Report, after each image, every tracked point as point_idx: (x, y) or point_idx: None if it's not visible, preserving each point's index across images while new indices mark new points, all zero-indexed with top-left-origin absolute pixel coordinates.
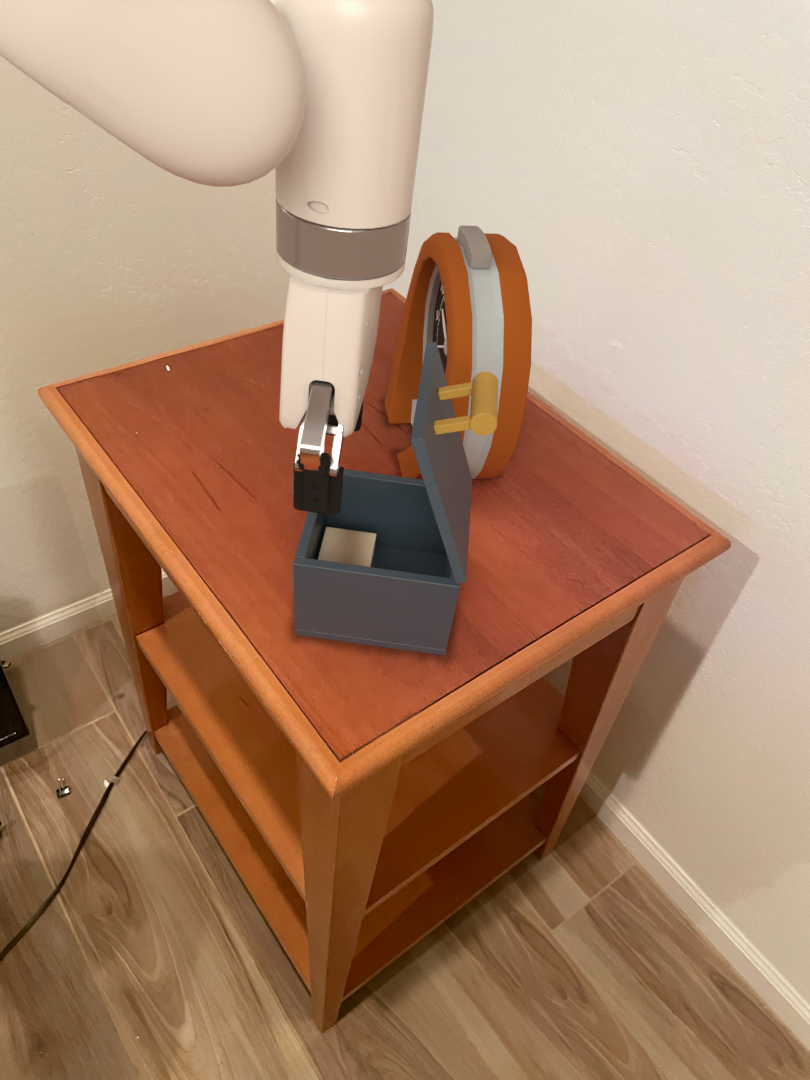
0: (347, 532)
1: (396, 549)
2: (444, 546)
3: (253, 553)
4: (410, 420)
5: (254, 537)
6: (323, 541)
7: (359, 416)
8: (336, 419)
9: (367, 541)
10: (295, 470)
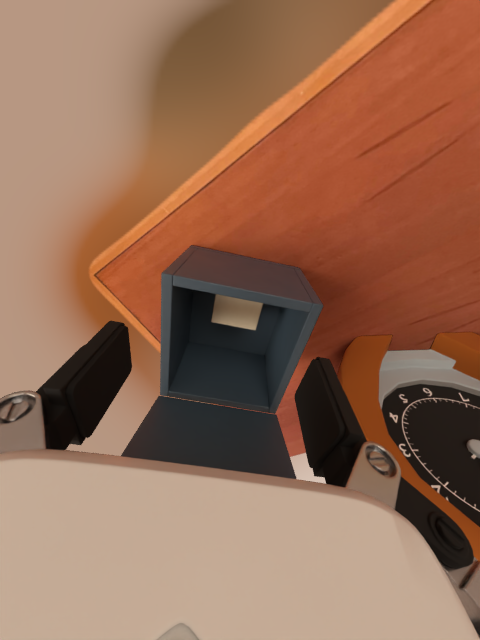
0: (257, 308)
1: (273, 326)
2: (141, 423)
3: (287, 202)
4: (433, 350)
5: (309, 202)
6: None
7: (299, 419)
8: (309, 386)
9: (245, 323)
10: (5, 396)
